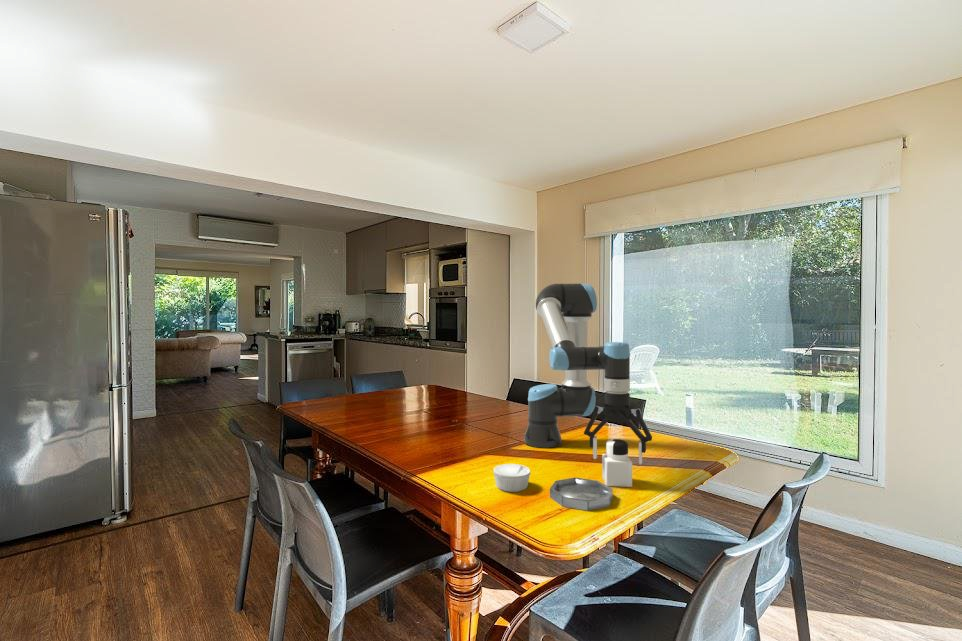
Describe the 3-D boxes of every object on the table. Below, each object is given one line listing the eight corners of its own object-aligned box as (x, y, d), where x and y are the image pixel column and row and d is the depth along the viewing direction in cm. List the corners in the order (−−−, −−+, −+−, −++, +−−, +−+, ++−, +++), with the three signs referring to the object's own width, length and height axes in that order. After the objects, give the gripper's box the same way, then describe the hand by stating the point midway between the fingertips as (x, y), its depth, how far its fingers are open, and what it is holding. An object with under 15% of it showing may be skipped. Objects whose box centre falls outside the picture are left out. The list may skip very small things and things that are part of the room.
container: (626, 478, 145) (626, 437, 145) (632, 487, 137) (632, 444, 137) (602, 477, 145) (602, 437, 145) (606, 486, 138) (606, 443, 138)
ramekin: (536, 491, 134) (536, 473, 134) (500, 495, 131) (500, 477, 131) (522, 478, 145) (522, 462, 145) (488, 482, 142) (488, 465, 142)
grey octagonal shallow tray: (545, 503, 125) (545, 494, 125) (559, 483, 141) (559, 475, 141) (606, 513, 119) (606, 504, 119) (614, 491, 134) (614, 483, 134)
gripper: (574, 391, 142) (574, 458, 142) (659, 396, 132) (660, 468, 132) (579, 388, 149) (579, 452, 149) (660, 392, 139) (660, 461, 139)
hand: (617, 460), depth 141 cm, fingers open, 13 cm apart
